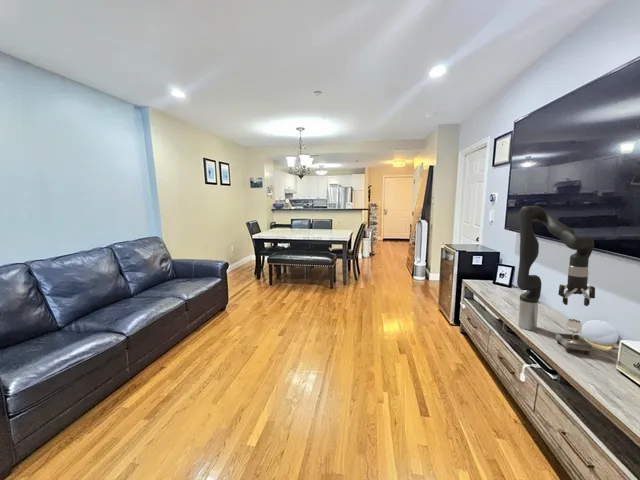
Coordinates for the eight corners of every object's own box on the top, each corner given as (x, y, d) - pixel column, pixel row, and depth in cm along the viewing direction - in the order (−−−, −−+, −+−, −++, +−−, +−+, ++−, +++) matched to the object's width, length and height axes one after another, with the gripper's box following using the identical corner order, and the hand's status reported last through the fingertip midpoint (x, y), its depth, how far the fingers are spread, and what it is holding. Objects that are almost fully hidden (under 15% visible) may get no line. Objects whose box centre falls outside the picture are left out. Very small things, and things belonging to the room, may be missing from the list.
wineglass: (564, 342, 146) (566, 320, 145) (565, 338, 150) (567, 317, 149) (579, 346, 142) (581, 324, 141) (580, 342, 146) (582, 320, 145)
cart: (555, 342, 154) (555, 332, 153) (577, 344, 151) (578, 334, 150) (566, 353, 142) (567, 343, 142) (591, 355, 139) (591, 345, 139)
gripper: (590, 273, 143) (588, 303, 145) (557, 272, 148) (555, 301, 149) (600, 277, 136) (597, 308, 138) (564, 275, 140) (562, 306, 142)
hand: (575, 305), depth 144 cm, fingers open, 8 cm apart
